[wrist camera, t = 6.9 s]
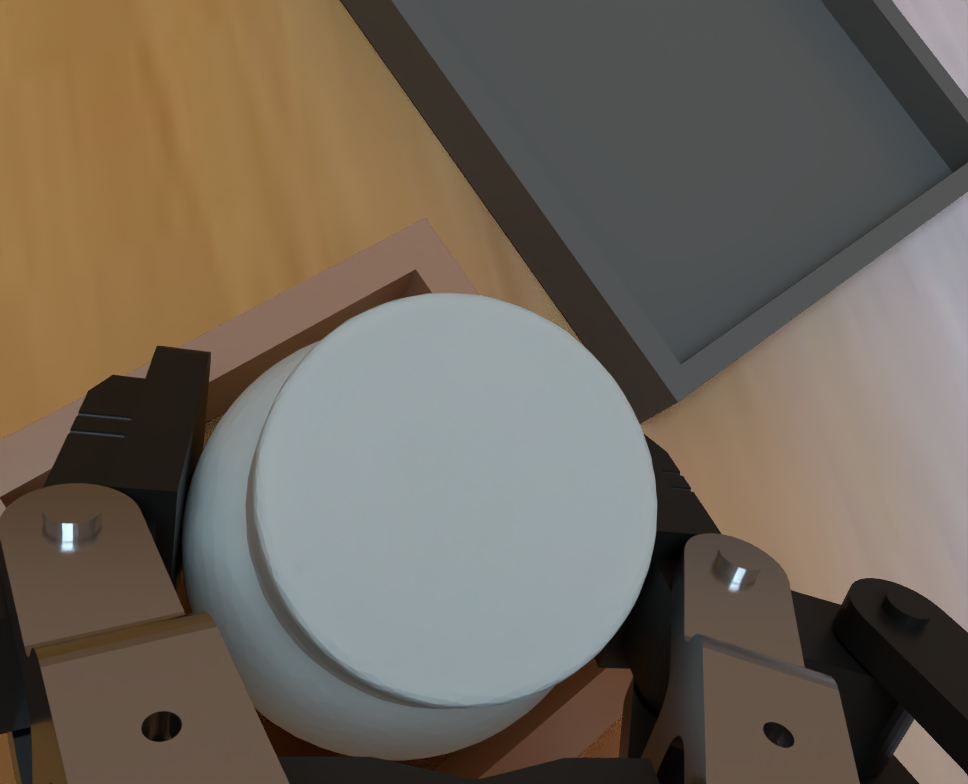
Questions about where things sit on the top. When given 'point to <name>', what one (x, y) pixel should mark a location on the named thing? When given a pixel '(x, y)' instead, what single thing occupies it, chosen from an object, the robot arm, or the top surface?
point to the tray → (683, 156)
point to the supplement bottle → (420, 525)
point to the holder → (279, 333)
